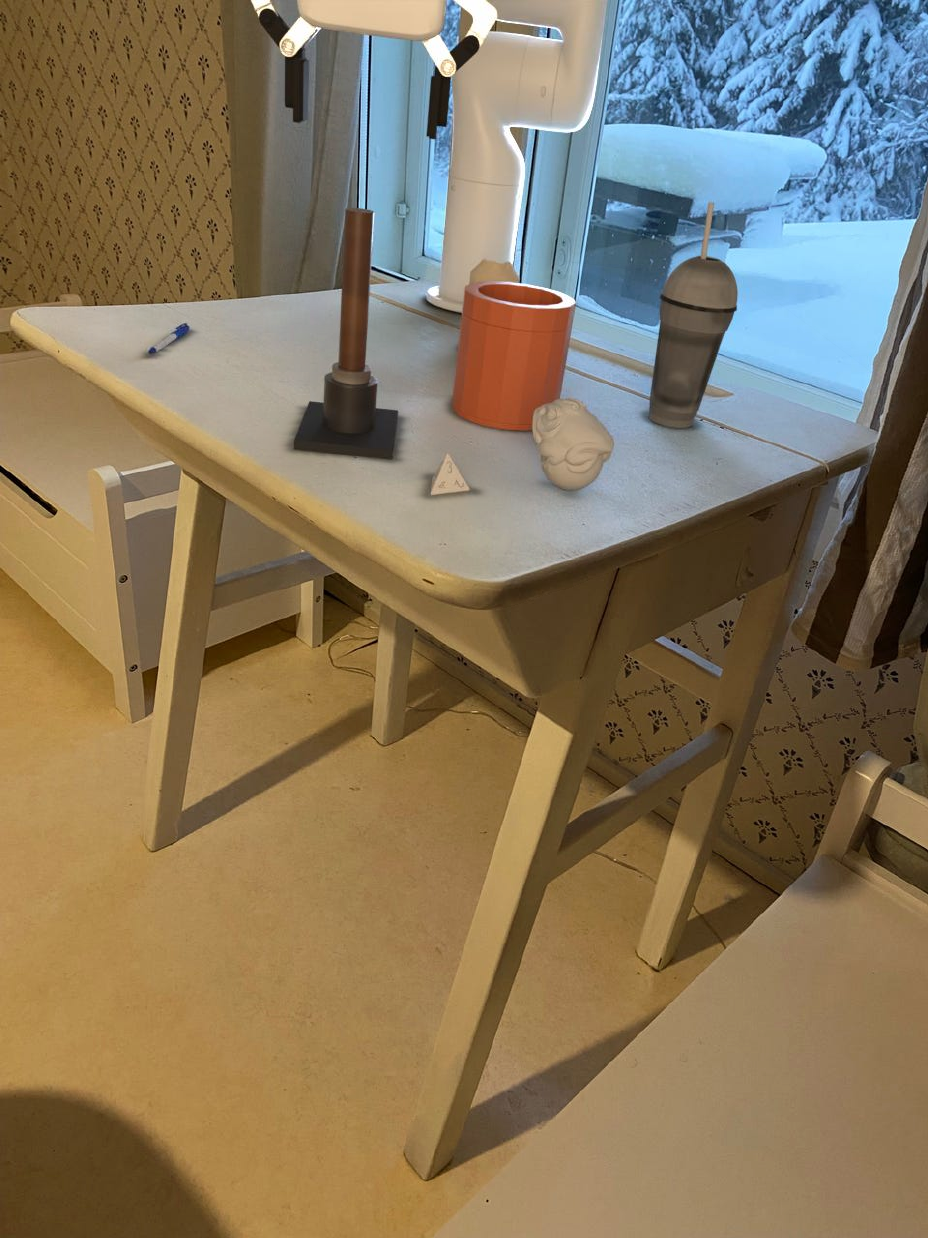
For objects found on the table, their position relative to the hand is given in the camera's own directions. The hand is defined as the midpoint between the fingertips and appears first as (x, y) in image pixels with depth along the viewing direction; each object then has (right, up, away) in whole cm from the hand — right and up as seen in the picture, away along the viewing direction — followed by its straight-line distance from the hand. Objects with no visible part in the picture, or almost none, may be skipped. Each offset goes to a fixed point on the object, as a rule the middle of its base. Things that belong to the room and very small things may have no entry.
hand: (366, 128), depth 68 cm
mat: (-3, -20, +12) cm, 23 cm away
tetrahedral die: (+5, -26, +4) cm, 27 cm away
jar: (+11, -16, +21) cm, 29 cm away
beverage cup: (+28, -16, +25) cm, 41 cm away
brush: (-3, -19, +11) cm, 23 cm away
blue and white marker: (-23, -8, +28) cm, 37 cm away
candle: (+10, -5, +39) cm, 41 cm away
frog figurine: (+15, -25, +7) cm, 30 cm away
